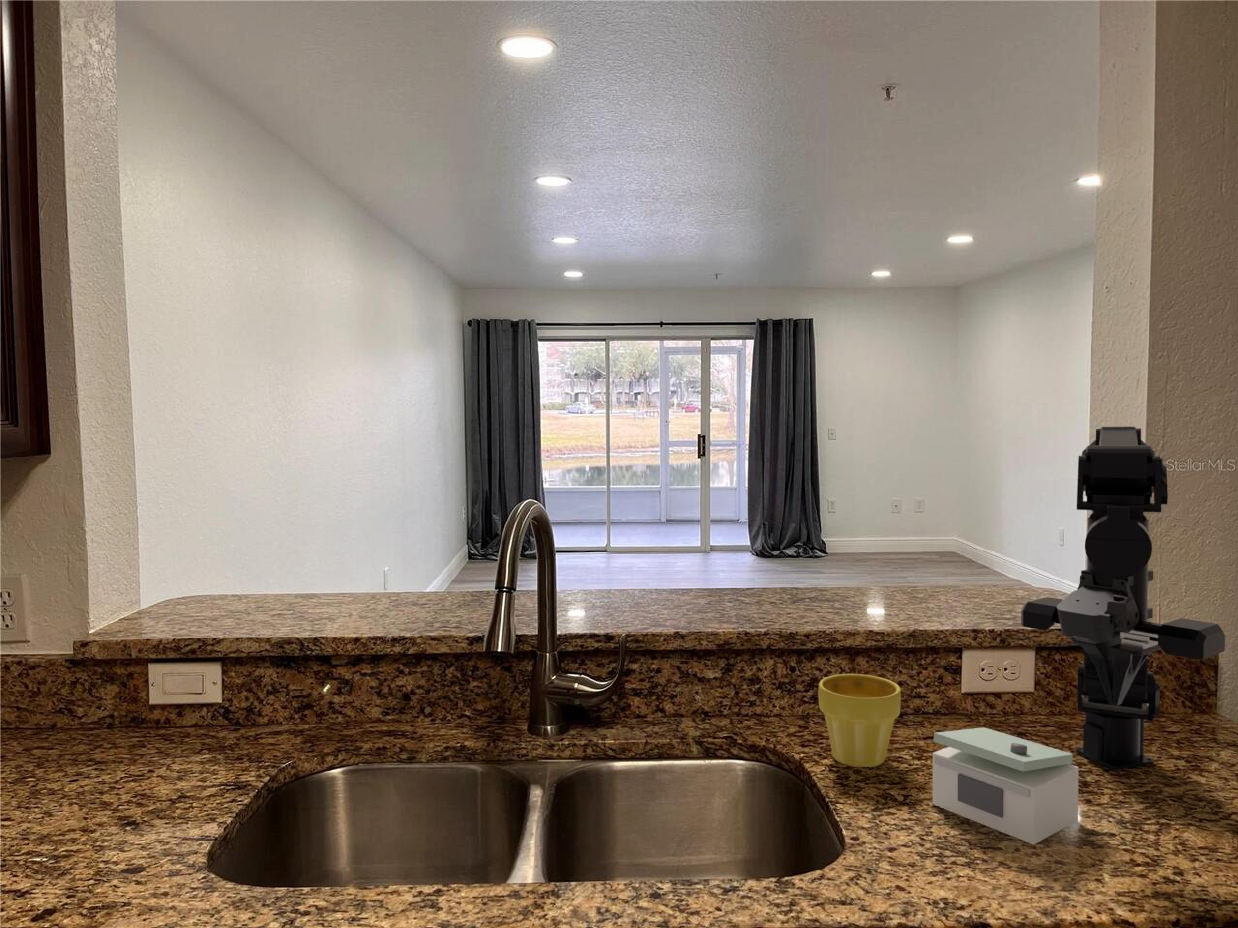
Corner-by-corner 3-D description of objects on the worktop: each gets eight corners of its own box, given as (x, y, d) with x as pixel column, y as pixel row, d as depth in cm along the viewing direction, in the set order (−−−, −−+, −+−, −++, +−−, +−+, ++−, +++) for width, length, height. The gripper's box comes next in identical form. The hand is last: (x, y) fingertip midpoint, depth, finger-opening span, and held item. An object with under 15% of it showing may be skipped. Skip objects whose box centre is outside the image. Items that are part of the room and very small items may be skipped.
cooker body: (977, 784, 105) (978, 735, 105) (1077, 820, 95) (1078, 766, 95) (930, 804, 99) (931, 753, 99) (1032, 845, 90) (1032, 788, 89)
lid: (983, 735, 104) (984, 720, 104) (1072, 763, 95) (1073, 746, 95) (933, 741, 98) (934, 725, 98) (1023, 771, 90) (1024, 753, 90)
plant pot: (905, 776, 107) (905, 699, 107) (819, 771, 109) (819, 694, 109) (895, 746, 118) (896, 674, 117) (817, 741, 120) (817, 671, 119)
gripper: (994, 558, 96) (993, 697, 97) (1179, 582, 81) (1177, 746, 82) (1047, 549, 103) (1046, 678, 104) (1228, 569, 88) (1225, 721, 88)
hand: (1115, 703), depth 94 cm, fingers closed
